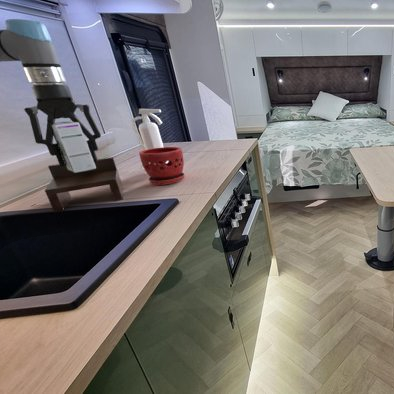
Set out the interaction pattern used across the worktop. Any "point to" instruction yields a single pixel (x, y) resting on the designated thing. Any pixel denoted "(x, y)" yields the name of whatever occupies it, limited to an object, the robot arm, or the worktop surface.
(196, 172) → the worktop surface
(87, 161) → the syrup box
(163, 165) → the flower pot
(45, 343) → the worktop surface
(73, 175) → the bench
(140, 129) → the fire extinguisher
